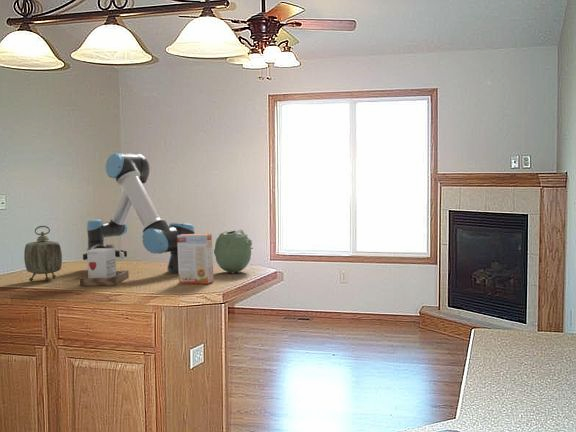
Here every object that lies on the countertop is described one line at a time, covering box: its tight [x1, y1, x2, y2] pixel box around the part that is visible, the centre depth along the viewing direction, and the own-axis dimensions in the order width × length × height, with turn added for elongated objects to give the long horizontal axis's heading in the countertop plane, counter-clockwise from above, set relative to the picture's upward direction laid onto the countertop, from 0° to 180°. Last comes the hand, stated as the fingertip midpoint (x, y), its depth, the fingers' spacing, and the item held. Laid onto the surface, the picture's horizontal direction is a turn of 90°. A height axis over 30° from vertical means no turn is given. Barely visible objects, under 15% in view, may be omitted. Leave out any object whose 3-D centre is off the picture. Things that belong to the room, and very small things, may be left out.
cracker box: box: [177, 233, 215, 285], centre depth 287 cm, size 14×6×21 cm, turn 70°
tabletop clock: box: [23, 225, 63, 282], centre depth 306 cm, size 14×9×25 cm, turn 133°
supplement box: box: [86, 248, 117, 278], centre depth 293 cm, size 9×9×15 cm
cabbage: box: [213, 229, 254, 274], centre depth 313 cm, size 16×19×20 cm
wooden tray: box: [79, 244, 130, 287], centre depth 298 cm, size 15×23×15 cm, turn 178°
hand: (108, 257), depth 310 cm, fingers open, 13 cm apart
